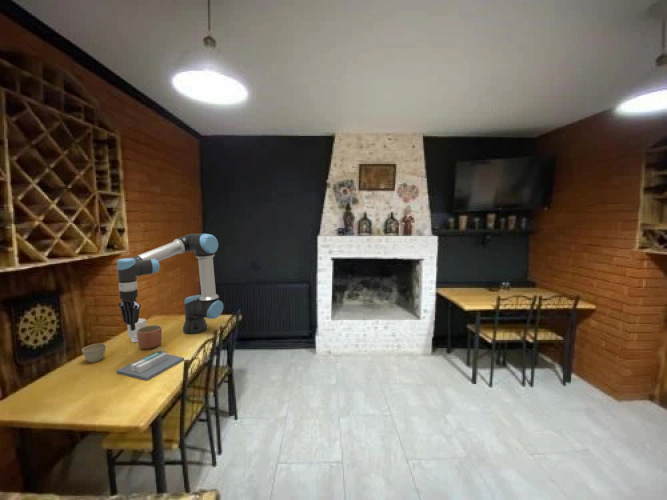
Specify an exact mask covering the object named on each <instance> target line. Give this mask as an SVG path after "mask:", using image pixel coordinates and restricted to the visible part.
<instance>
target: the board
mask: <svg viewBox="0 0 667 500" xmlns="http://www.w3.org/2000/svg"><path fill="white" fill-rule="evenodd" d="M157 353H161V351H157ZM149 356H151V353H150V354H149V355H145V356H144V357H142V358H139V359H138V360H136V361H133V362H132V363H129V364H126V365H125V366H123V367H121V368H118V369H116V370H115V371H116V374H117V375H121V376H125V377H130V378H134V379H139V380H143V381H146V382H148V381H150V380H151V379H153V378H155V377H157V376H158V375H161V374H163V373H164V372H165V371H168V370H169V369H171V368H172V367H173V368H174V367H175V366H177V365H178V364H180V363H182V362H184V361H185V357H182V356H178V355H172V354H169V352H166V353H162V354H160V355H158V356H156V357H154V358H152V359H150V360H148V361H146V362H144V363H142V364H140V365H138V366H136V370H137V371H135V372H134V371H131V365H132V364H134V363H136V362H138V361H140V360H142V359H144V358H147V357H149Z"/></svg>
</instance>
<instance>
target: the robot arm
mask: <svg viewBox="0 0 667 500" xmlns="http://www.w3.org/2000/svg"><path fill="white" fill-rule="evenodd" d="M218 249H219V242H218V239H217V238H216V236H214V235H213V234H209V233H189V234H186V235H184V236H180V237H178V238H175V239H174V240H173V241H172V242H169V243H167V244H164V245H161V246H159V247H155V248H154V249H150V250H148V251H146V252H143V253H140V254H138V255H136V256H132V257H126V258H120V259H118V260H117V262H116V267H117V268H116V270H117V277H118V279H117V280H118V290H119V294H118V295H119V299H120V300H121V302H119V303H118V307H119V309H120V314H121V317H122V321H123V322H124V323H125V324H126V327H127V336H128V338H131V337H133V336H135V323H137V322H138V319H140V318H139V317H140V309H141V306H142V305H141V304H138V302H137V298H138V296H139V293H138V280H137V279H138V278H137V277H141V276H146V275H147V276H148V275H153V274H156V273H158V272H159V271H160V268H161V265H160V261H161V262H162V261H163V260H165V259H168V258H171V257H173V256H176V255H178V254H180V255H182V254H184V253H194V256H195V257H196V259H198V272H199V282H200V294H196V295H190V296H187V297H185V299H184V303H183V305H184V319H185V320H184V324H183V327H182V332H183V333H184V334H187V335H196V334H197V335H198V334H201V333H204V332H206V331H207V330H208V327H209V326H208V323H207V321H206V318H207V319H217V318H219V317H220V316H221V315H222V313H223V310H224V302H222V301H221V300H220V296H219V295H218V294H217V292H216V291H217V290H216V289H217V288H216V281H215V280H216V278H215V271H214V270H215V269H214V266H215V265H214V257H215V255H216V252H218Z"/></svg>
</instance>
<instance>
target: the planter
mask: <svg viewBox="0 0 667 500" xmlns="http://www.w3.org/2000/svg"><path fill="white" fill-rule="evenodd" d="M162 334H163V332H162V326H161V325H160V324H159V325H158V324H149V325H146V326H144V327H141V328H139V329H138V330H137V339H138V342H137V345H138V346H139V348H141V349H143V350H151V349H152V350H153V349H156V348H158V346H159V345H160V344H161V342H162V337H163V336H162Z"/></svg>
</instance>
